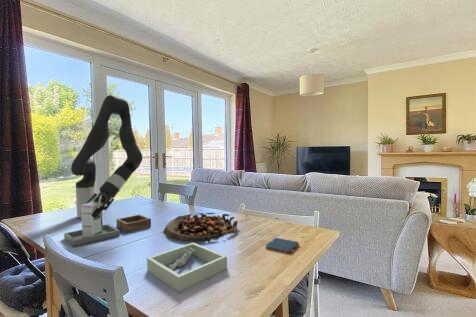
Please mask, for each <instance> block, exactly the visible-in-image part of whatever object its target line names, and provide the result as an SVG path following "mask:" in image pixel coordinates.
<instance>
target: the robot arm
mask: <svg viewBox="0 0 476 317" xmlns="http://www.w3.org/2000/svg"><path fill="white" fill-rule="evenodd" d="M130 111H131V110H130V105H129V103H128V101H127V99H125V97H124V98H123V97H120V96H117V95H111V94H109V95H107V96H106V97H105V98H104V99H103V101H102V104H101V107H100V109H99V112H98V115H97V117H96V119H95V122H94V123H93V126H92V128H91V129H90V131H89V133H88V135H87V137H86V140H85V142H84V144H83V145H82V146H81V149H80V151H79V152H78V153H77V155H76V156H75V158H74V159H73V161H72V163H71V167H70V169H71V174H73V176H78V177H79V176H82V178H81V179H80V180H78V181H77V182H76V183H75V197H76V198H75V199H76V218H77V219H82V215H81V205H83V204H87V203H90V202H97V203H98V204H99V205H98V208H96V210H95V211H94V212H93V213H92V215H91V216H92V217H94V218H96V217H97V216H98V215H99V213H100V212H101V211H102V212H103V211H107V210H108V209H109V207H110V206H111V205H112V203H113V202H114V200H115V197H116V196H117V195H118V193H119V192H120V191H121V190H122V188H123V187H124V185H125V184H126V182H128V180H129V179H130V177H131V176H132V174H134V172H136V170H137V169H138V168H139V166H141V164H142V162H143V154H142V152H141V149H140V148H139V145H138V144H137V141H136V137H135V134H134V131H133V126H132V120H131V119H132V118H131V113H130ZM113 114H114V115H118V116H119V118H120V121H121V125H120V128H119V132H118V136H119V141H120V144H121V146H122V149H123V150H124V151H125V154H126V159H125V161H124V162H123V163H122V164H121V165H120V166H118V167H117V168H116V170H115V171H114V172H112V174H111V175H110V176H109V177H108V178H107V179H106V180H105V182H104V183H103V184H101V186H100V187H99V189H98V190H99V193H98V194H97V193H96V190H95V183H96V177H97V176H96V175H97V174H96V173H97V166H96V163H95V161H94V159H92V158H91V157H93V156H94V155H95V154H97V153H98V152H99V151H100V150H101V149H102V148H104V147H105V145H106V143H107V141H108V140H109V137H110V129H109V121H110V118H111V116H112V115H113Z"/></svg>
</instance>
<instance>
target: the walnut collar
mask: <svg viewBox="0 0 476 317" xmlns="http://www.w3.org/2000/svg"><path fill="white" fill-rule="evenodd" d="M151 227H152V219H151V218H150V217H148V216H145V215H142V214H136V215H131V216H126V217H120V218H117V219H116V229H118V230H121V231H124V232H125V233H131V232H135V231H139V230H143V229H147V228H151Z"/></svg>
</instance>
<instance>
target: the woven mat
mask: <svg viewBox="0 0 476 317" xmlns="http://www.w3.org/2000/svg"><path fill="white" fill-rule="evenodd" d="M297 246H298V247H299V246H300V243H299V241H296V240H293V241H292V240H290V239H286V238H279V237H274V238H272V240H270V241H268V242H267V244H265V247H264V248H265V249H266V250H269V249H271V251H275V250H277V251H278V250H279V253H283V252H284V253H285V254H286V253H287V252H288V253H287V254H289V253H291V252H292V253H293V252H294V251H295V250H296V249H297V248H298V247H297ZM295 248H296V249H295ZM292 250H294V251H292ZM281 251H282V252H281ZM292 253H291V254H292Z"/></svg>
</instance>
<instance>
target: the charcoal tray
mask: <svg viewBox="0 0 476 317" xmlns="http://www.w3.org/2000/svg"><path fill="white" fill-rule="evenodd" d="M102 225H103V234H99V235H94V236H90V237H86V238H85V237H83V235H82V229H79V230H73V231H69V232H64V233H63V234H64V235H63V236H64V238H63V239H64V240H65V241H66V242H67V243H68V244H69V245H70V246H71V247H72V248H77V247H80V246H81V247H82V246H84V245H88V244H92V243H93V244H94V243H97V242H100V241H101V242H102V241H105V240H108V239H112V238H116V237H117V238H118V237H120V234H121V233H120V230H121V229H119V228H117V227H115V226H113V225H111V224H109V223H107V224H102Z"/></svg>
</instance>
